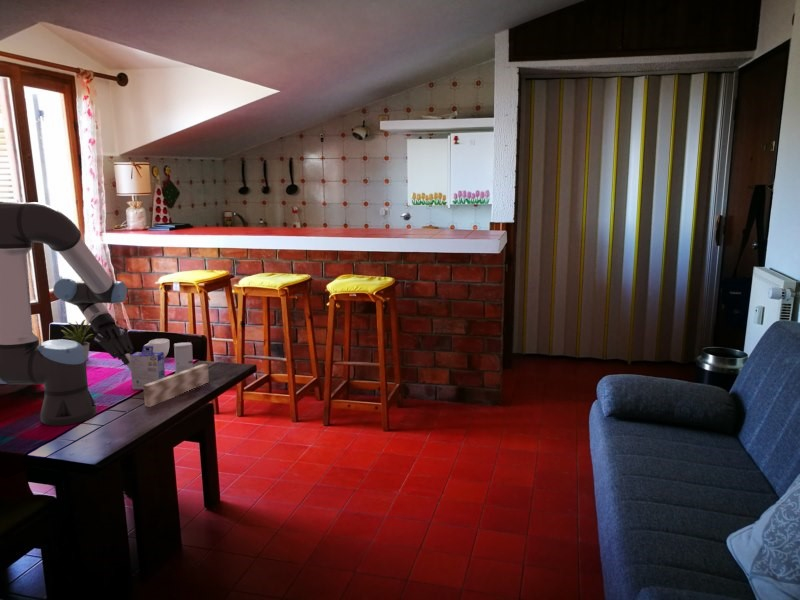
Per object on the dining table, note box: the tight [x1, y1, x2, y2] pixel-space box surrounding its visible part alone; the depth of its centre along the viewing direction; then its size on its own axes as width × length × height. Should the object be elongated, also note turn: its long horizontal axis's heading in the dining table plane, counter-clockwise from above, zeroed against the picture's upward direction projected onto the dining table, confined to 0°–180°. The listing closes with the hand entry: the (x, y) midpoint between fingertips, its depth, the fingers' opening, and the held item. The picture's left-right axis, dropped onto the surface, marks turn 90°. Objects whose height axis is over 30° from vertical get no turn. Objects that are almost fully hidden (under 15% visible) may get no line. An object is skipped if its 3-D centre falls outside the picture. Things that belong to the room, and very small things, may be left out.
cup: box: [143, 338, 170, 359], centre depth 247 cm, size 8×10×7 cm
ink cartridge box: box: [130, 345, 166, 390], centre depth 211 cm, size 10×6×14 cm, turn 89°
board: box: [142, 363, 210, 408], centre depth 206 cm, size 26×2×7 cm, turn 152°
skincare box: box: [173, 341, 194, 374], centre depth 224 cm, size 6×4×12 cm
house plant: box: [60, 318, 95, 360], centre depth 243 cm, size 14×14×16 cm
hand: (135, 370), depth 216 cm, fingers closed
